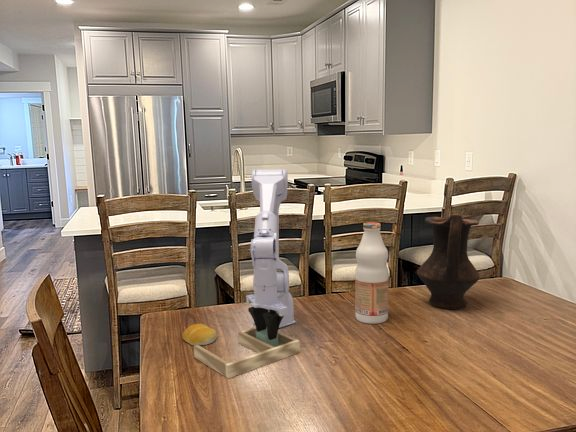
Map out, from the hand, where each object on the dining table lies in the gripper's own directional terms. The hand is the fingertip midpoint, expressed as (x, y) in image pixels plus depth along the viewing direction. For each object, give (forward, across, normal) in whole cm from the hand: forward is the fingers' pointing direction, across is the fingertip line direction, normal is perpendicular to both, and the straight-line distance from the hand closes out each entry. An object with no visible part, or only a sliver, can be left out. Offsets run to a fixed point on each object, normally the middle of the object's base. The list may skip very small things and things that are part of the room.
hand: (267, 336), depth 132 cm
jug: (+3, +12, +61) cm, 62 cm away
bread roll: (+3, -16, -10) cm, 19 cm away
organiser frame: (+3, 0, -7) cm, 8 cm away
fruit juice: (+3, +4, +35) cm, 35 cm away
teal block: (+3, 0, 0) cm, 3 cm away
